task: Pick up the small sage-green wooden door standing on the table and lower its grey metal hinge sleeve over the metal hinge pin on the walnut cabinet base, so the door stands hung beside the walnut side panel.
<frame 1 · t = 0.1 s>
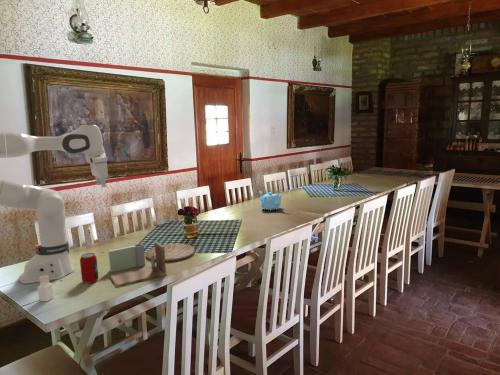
hand: (101, 185, 183), 39 cm above the table, tool pointing down, fingers open, 8 cm apart
beverage can: (90, 281, 166), on the table
trivet: (170, 254, 199), on the table
cabinet base: (138, 276, 170), on the table
teapot: (270, 210, 293), on the table
door: (123, 268, 180), on the table
pepper shaker: (46, 300, 149), on the table
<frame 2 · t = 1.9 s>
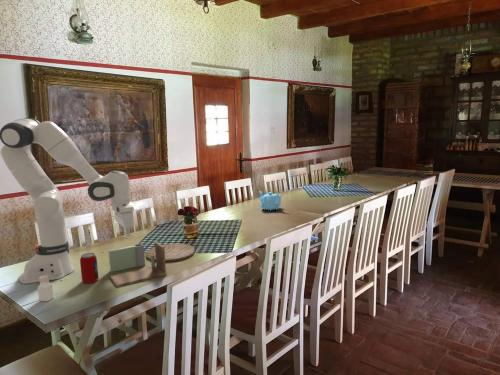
hand: (125, 233, 178), 17 cm above the table, tool pointing down, fingers open, 8 cm apart
nothing on the table moved.
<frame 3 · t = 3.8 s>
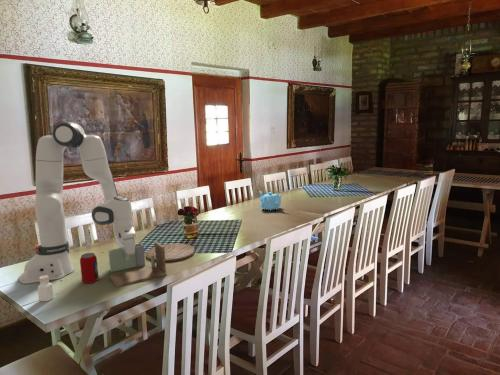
hand: (126, 258, 180), 5 cm above the table, tool pointing down, fingers closed on door, 2 cm apart
door: (123, 268, 180), on the table, touching gripper
everything else where it was.
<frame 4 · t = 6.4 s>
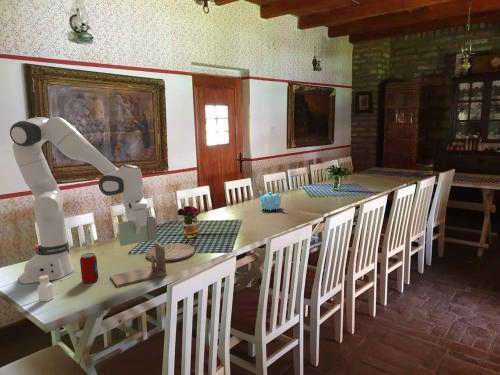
hand: (136, 232, 167), 21 cm above the table, tool pointing down, fingers closed on door
door: (134, 242, 167), point 16 cm above the table, touching gripper
everything else where it was.
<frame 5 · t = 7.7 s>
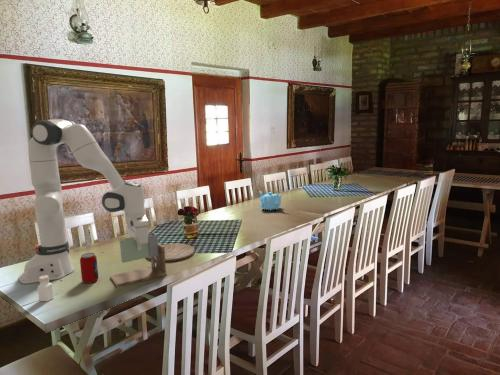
hand: (138, 248, 168), 13 cm above the table, tool pointing down, fingers closed on door
door: (135, 259, 168), point 8 cm above the table, touching gripper
everything else where it was.
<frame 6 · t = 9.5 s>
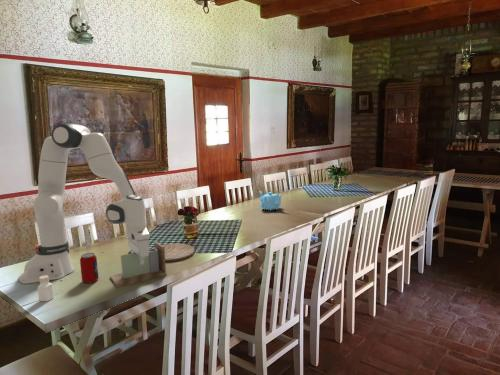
hand: (138, 261, 169), 7 cm above the table, tool pointing down, fingers open, 7 cm apart
door: (136, 274, 169), point 1 cm above the table, touching cabinet base
everything else where it was.
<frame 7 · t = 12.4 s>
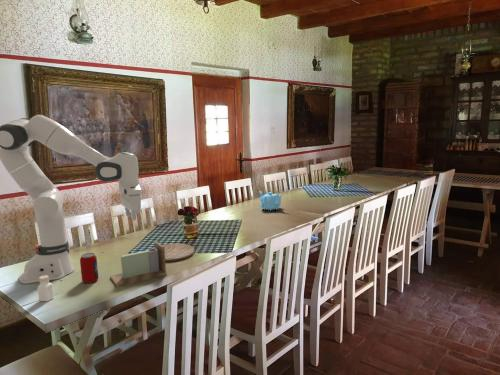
hand: (131, 218, 172), 26 cm above the table, tool pointing down, fingers open, 8 cm apart
nothing on the table moved.
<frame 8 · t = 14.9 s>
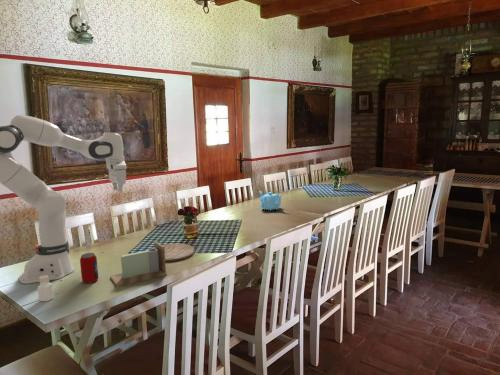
hand: (117, 191, 193), 34 cm above the table, tool pointing down, fingers open, 8 cm apart
nothing on the table moved.
at the end: door 0.1 cm off-centre on the cabinet base, point 1.0 cm above the cabinet base's base; door tilted 0°; the gripper is holding nothing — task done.
